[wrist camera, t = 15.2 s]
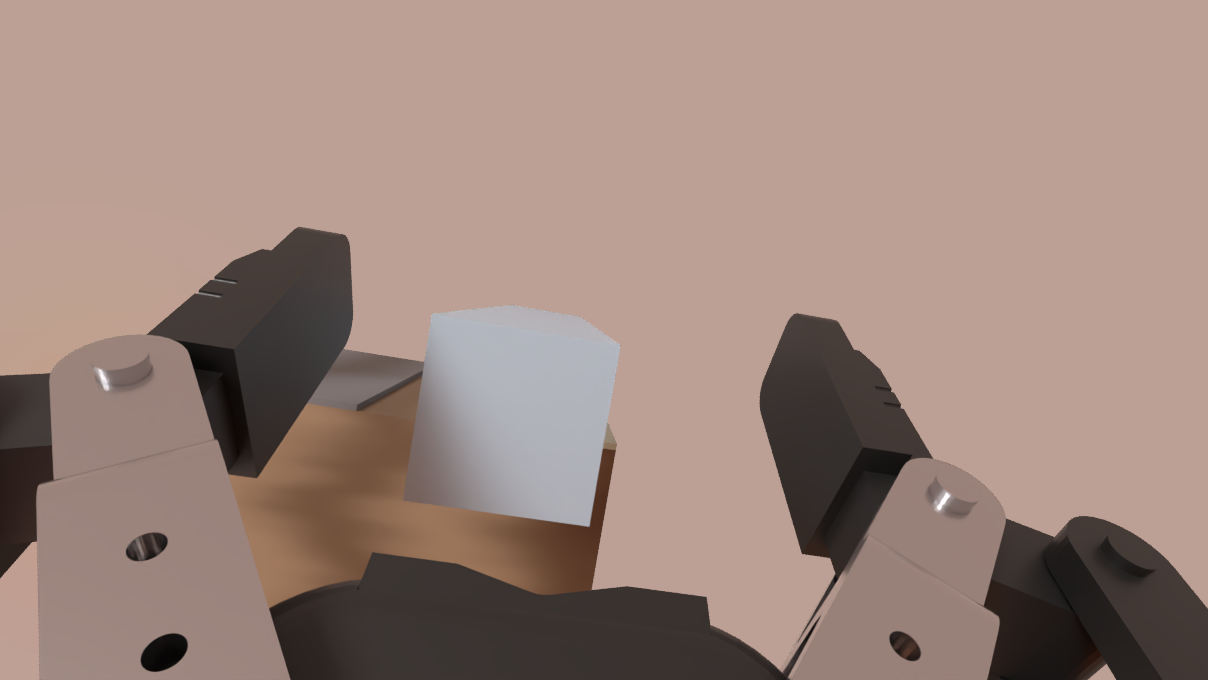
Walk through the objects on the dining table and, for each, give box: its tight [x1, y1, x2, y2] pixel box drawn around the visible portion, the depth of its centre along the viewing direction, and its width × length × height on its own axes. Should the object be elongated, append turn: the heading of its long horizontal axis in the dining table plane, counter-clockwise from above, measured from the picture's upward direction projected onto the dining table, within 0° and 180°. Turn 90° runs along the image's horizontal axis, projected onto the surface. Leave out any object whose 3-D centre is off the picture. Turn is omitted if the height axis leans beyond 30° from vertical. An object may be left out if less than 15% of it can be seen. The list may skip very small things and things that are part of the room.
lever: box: [403, 305, 620, 527], centre depth 21 cm, size 4×20×4 cm, turn 4°
